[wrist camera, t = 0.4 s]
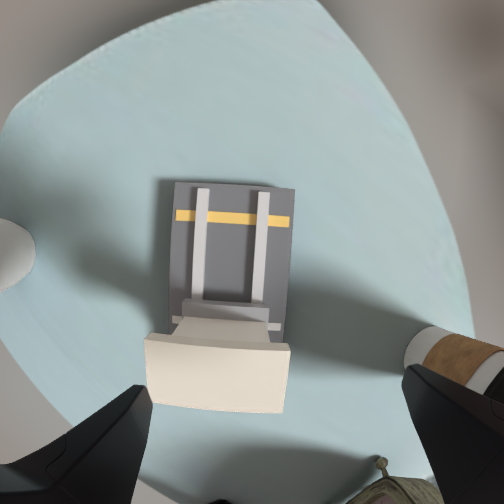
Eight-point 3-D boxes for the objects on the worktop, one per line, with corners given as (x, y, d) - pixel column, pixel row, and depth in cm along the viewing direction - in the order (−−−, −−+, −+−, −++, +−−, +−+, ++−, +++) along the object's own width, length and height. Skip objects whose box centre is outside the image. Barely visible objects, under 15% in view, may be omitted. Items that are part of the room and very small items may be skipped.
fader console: (275, 376, 24) (278, 390, 21) (175, 368, 24) (168, 382, 21) (290, 192, 23) (296, 187, 20) (180, 186, 23) (173, 180, 20)
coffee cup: (377, 375, 24) (462, 467, 9) (421, 301, 24) (538, 349, 9) (425, 394, 25) (502, 465, 10) (464, 330, 24) (558, 376, 9)
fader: (269, 354, 21) (281, 415, 13) (180, 347, 20) (149, 404, 12) (273, 304, 20) (291, 347, 12) (180, 297, 20) (144, 335, 12)
